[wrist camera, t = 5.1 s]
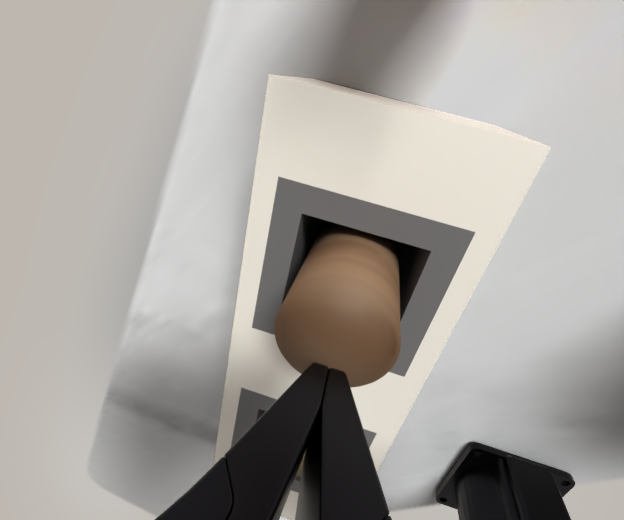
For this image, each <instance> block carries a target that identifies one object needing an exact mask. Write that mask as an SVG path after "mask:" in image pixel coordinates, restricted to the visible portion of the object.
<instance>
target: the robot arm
mask: <svg viewBox="0 0 624 520" xmlns="http://www.w3.org/2000/svg"><path fill="white" fill-rule="evenodd" d="M304 454H305V456H304ZM303 457H304V461H303V467H302V474H301V481H300V488H299V495H298V502H297V509H296V516H295V520H392V519H391V517H390V516H388V514H389V510H388V507H387V504H386V500H385V497H384V494H383V491H382V487H381V484H380V481H379V478H378V475H377V471H376V468H375V465H374V462H373V459H372V455H371V452H370V449H369V446H368V442H367V439H366V436H365V433H364V430H363V426H362V423H361V420H360V417H359V413H358V410H357V407H356V404H355V401H354V397H353V394H352V391H351V388H350V384H349V381H348V378H347V375H346V373H345V372H344V371H341V370H338V369H335V368H330V369H329V368H328V366H326V365H323V364H320V363H317V362H313V363H312V364H311V365H310V366H309V367H308V368H307V369H306V370H305V371H304V372H303V373H302V374H301V375H300V376H299V377H298V378H297V379H296V380H295V381H294V382H293V383H292V385H291V386H290V387H289V388H288V389H287V390H286V391H285V392H284V393H283V394H282V395H281V396H280V397H279V398H278V399H277V400H276V401H275V402H274V403H273V404H272V405H271V406H270V408H269V409H268V410H267V411H266V412H265V413H264V414H263V415H262V416H261V417H260V418H259V419H258V420H257V421H256V422H255V423H254V424H253V425H252V426H251V427H250V428H249V429H248V430H247V432H246V433H245V434H244V435H243V436H242V437H241V438H240V439H239V440H238V441H237V442H236V443H235V444H234V445H233V446H232V447H231V448H230V449H229V450H228V451H227V452H226V453H225V455H224V457H221V458H220V459H219V461H218V462H217V463H216V464H215V465H214V466H213V467H212V468H211V469H210V470H209V471H208V472H207V473H206V474H205V475H204V476H203V477H202V478H201V479H200V480H199V481H198V482H197V483H196V484H195V485H194V486H193V487H192V488H191V489H190V490H189V491H187V492H186V493H185V494H184V495H183V496H182V497H181V498H179V499H178V500H177V501H176V502H175V503H174V504H173V505H171V506H170V507H169V508H168V509H167V510H166V511H165V512H164V513H162V514H161V515H160V516H159V517H157V518H156V519H155V520H279V518H280V516H281V513H282V511H283V508H284V506H285V503H286V501H287V498H288V496H289V493H290V490H291V488H292V485H293V483H294V480H295V478H296V475H297V473H298V470H299V468H300V465H301V462H302V459H303ZM574 485H575V482H574V479H573V477H572V476H571V474H569V473H567V472H564V471H561V470H558V469H555V468H552V467H549V466H546V465H543V464H540V463H537V462H534V461H531V460H528V459H525V458H522V457H519V456H516V455H513V454H510V453H507V452H504V451H501V450H498V449H495V448H492V447H489V446H486V445H483V444H479V443H472V444H470V445H469V446H468V447H467V449H466V450H465V452H464V453H463V454H462V456H461V457H460V459H459V460H458V461H457V463H456V464H455V466H454V467H453V468H452V470H451V471H450V473H449V474H448V475H447V477H446V478H445V480H444V481H443V482H442V484H441V485H440V487H439V488H438V489H437V491H436V493H435V494H436V500H437V502H439V503H441V504H444V505H447V506H449V507H452V508H455V509H458V514H459V520H571V518H570V516H569V513H568V511H567V509H566V506H565V504H564V501H563V499H562V497H563V496H564V495H565V494H566V493H567V492H568V491H569V490H570V489H572V488H573V487H574Z"/></svg>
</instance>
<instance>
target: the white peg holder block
mask: <svg viewBox="0 0 624 520" xmlns="http://www.w3.org/2000/svg"><path fill="white" fill-rule="evenodd" d="M550 149H551V147H549V146H547V145H544V144H542V143H539V142H536V141H534V140H531V139H529V138H526V137H524V136H521V135H519V134H516V133H513V132H511V131H508V130H506V129H503V128H501V127H498V126H496V125H492V124H488V123H484V122H480V121H476V120H472V119H469V118H465V117H461V116H457V115H453V114H449V113H445V112H441V111H437V110H433V109H430V108H426V107H422V106H418V105H414V104H410V103H406V102H402V101H398V100H394V99H390V98H387V97H383V96H379V95H375V94H371V93H367V92H363V91H359V90H355V89H351V88H348V87H344V86H340V85H336V84H332V83H328V82H324V81H320V80H316V79H312V78H302V77H291V76H281V75H270V74H269V75H268V82H267V89H266V96H265V103H264V110H263V117H262V125H261V132H260V139H259V146H258V153H257V160H256V167H255V174H254V181H253V188H252V195H251V202H250V209H249V216H248V223H247V230H246V237H245V244H244V251H243V259H242V266H241V273H240V280H239V287H238V294H237V301H236V308H235V315H234V322H233V329H232V336H231V343H230V350H229V357H228V364H227V371H226V378H225V385H224V393H223V400H222V407H221V414H220V421H219V428H218V435H217V442H216V449H215V456H214V463H213V466H214V465H215V464H216V463H217V462H218V461H219V459H220V458H221V457H224V455H225V453H226V452H227V451H228V450H229V449H230V448H231V447H232V446H233V445H234V444H235V443H236V442H237V441H238V440H239V439H240V438H241V437H242V436H243V435H244V434H245V433H246V432H247V430H248V429H249V428H250V427H251V426H252V425H253V424H254V423H255V422H256V421H257V420H258V419H259V418H260V417H261V416H262V415H263V414H264V413H265V412H266V411H267V410H268V409H269V408H270V406H271V405H272V404H273V403H274V402H275V401H276V400H277V399H278V398H279V397H280V396H281V395H282V394H283V393H284V392H285V391H286V390H287V389H288V388H289V387H290V386H291V385H292V383H293V382H294V381H295V380H296V379H297V378H298V377H299V376H300V375H301V373H299V372H298V371H297V370H295V369H294V368H293V367H292V366H291V365H290V364H289V363H288V362H287V361H286V359H285V358H284V357H283V355H282V354H281V352H280V350H279V348H278V345H277V342H276V339H275V333H274V326H275V320H276V316H277V314H278V312H279V310H280V308H281V306H282V304H283V302H284V300H285V298H286V296H287V294H288V292H289V290H290V288H291V286H292V284H293V282H294V281H295V279H296V277H297V275H298V273H299V271H300V269H301V267H302V265H303V263H304V261H305V259H306V257H307V255H308V253H309V251H310V249H311V248H312V246H313V243H314V239H315V235H316V231H317V227H318V223H319V219H323V220H326V221H329V222H333V223H336V224H340V225H343V226H347V227H350V228H353V229H357V230H360V231H364V232H367V233H371V234H374V235H378V236H381V237H384V238H388V239H391V240H395V241H398V242H402V246H401V248H400V251H399V286H400V328H401V348H400V354H399V356H398V359H397V361H396V363H395V365H394V366H393V367H392V369H391V370H390V371H389V372H388V373H387V374H386V375H385V376H383V377H382V378H380V379H379V380H377V381H375V382H373V383H370V384H367V385H363V386H359V387H351V391H352V394H353V397H354V401H355V404H356V407H357V410H358V413H359V417H360V420H361V423H362V426H363V430H364V433H365V436H366V439H367V442H368V446H369V449H370V452H371V455H372V459H373V462H374V465H375V468H376V471H378V469H379V467H380V465H381V463H382V461H383V459H384V457H385V456H386V454H387V452H388V450H389V448H390V446H391V444H392V443H393V441H394V439H395V437H396V435H397V433H398V431H399V430H400V428H401V426H402V424H403V422H404V420H405V418H406V417H407V415H408V413H409V411H410V409H411V407H412V405H413V404H414V402H415V400H416V398H417V396H418V394H419V392H420V391H421V389H422V387H423V385H424V383H425V381H426V379H427V377H428V376H429V374H430V372H431V370H432V368H433V366H434V364H435V363H436V361H437V359H438V357H439V355H440V353H441V351H442V350H443V348H444V346H445V344H446V342H447V340H448V338H449V337H450V335H451V333H452V331H453V329H454V327H455V325H456V324H457V322H458V320H459V318H460V316H461V314H462V312H463V311H464V309H465V307H466V305H467V303H468V301H469V299H470V298H471V296H472V294H473V292H474V290H475V288H476V286H477V284H478V283H479V281H480V279H481V277H482V275H483V273H484V271H485V270H486V268H487V266H488V264H489V262H490V260H491V258H492V257H493V255H494V253H495V251H496V249H497V247H498V245H499V244H500V242H501V240H502V238H503V236H504V234H505V232H506V231H507V229H508V227H509V225H510V223H511V221H512V219H513V218H514V216H515V214H516V212H517V210H518V208H519V206H520V205H521V203H522V201H523V199H524V197H525V195H526V193H527V191H528V190H529V188H530V186H531V184H532V182H533V180H534V178H535V177H536V175H537V173H538V171H539V169H540V167H541V165H542V164H543V162H544V160H545V158H546V156H547V154H548V152H549V151H550ZM300 481H301V477H300V476H296V478H295V480H294V483H293V485H292V488H291V490H290V493H289V496H288V498H287V501H286V503H285V506H284V508H283V511H282V513H281V516H282V517H285V518H287V519H290V520H295V516H296V509H297V502H298V495H299V488H300Z"/></svg>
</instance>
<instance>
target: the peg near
mask: <svg viewBox="0 0 624 520" xmlns="http://www.w3.org/2000/svg"><path fill="white" fill-rule="evenodd" d="M274 333H275V339H276V342H277V345H278V348H279V350H280V352H281V354H282V355H283V357H284V358H285V359H286V361H287V362H288V363H289V364H290V365H291V366H292V367H293V368H294V369H295V370H297V371H298V372H299V373H301V374H302V373H303V372H304V371H305V370H306V369H307V368H308V367H309V366H310V365H311V364H312V363H313V362H317V363H320V364H323V365H326V366H328V368H329V369H330V368H335V369H338V370H341V371H344V372H345V373H346V375H347V378H348V381H349V384H350V388H351V387H359V386H363V385H367V384H370V383H373V382H375V381H377V380H379V379H380V378H382V377H383V376H385V375H386V374H387V373H388V372H389V371H390V370H391V369H392V367H393V366H394V365H395V363H396V361H397V359H398V356H399V354H400V348H401V328H400V286H399V250H398V245H397V241H395V240H391V239H388V238H384V237H381V236H378V235H374V234H371V233H367V232H364V231H360V230H357V229H353V228H350V227H347V226H343V225H340V224H336V223H333V222H328V223H327V224H326V225H325V226H324V227H323V228H322V229H321V231H320V232H319V234H318V236H317V238H316V240H315V242H314V244H313V246H312V248H311V249H310V251H309V253H308V255H307V257H306V259H305V261H304V263H303V265H302V267H301V269H300V271H299V273H298V275H297V277H296V279H295V281H294V282H293V284H292V286H291V288H290V290H289V292H288V294H287V296H286V298H285V300H284V302H283V304H282V306H281V308H280V310H279V312H278V314H277V316H276V320H275V326H274Z"/></svg>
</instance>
